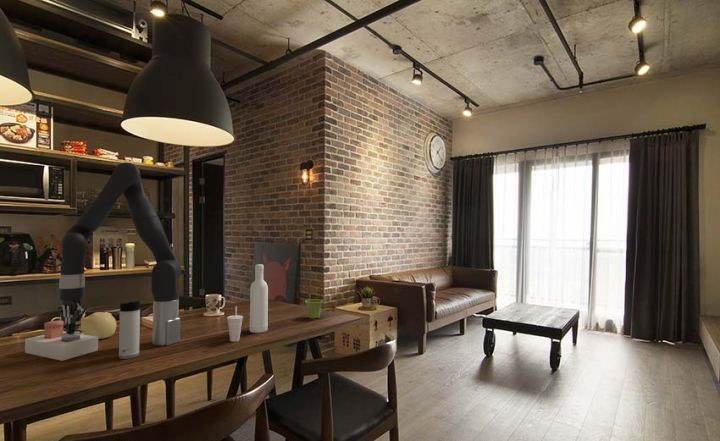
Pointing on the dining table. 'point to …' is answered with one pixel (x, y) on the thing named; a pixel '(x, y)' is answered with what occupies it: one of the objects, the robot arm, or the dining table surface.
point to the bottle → (259, 302)
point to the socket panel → (61, 347)
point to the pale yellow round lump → (99, 325)
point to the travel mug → (129, 330)
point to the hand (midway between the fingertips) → (70, 333)
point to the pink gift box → (53, 329)
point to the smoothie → (234, 326)
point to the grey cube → (70, 336)
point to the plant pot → (314, 308)
